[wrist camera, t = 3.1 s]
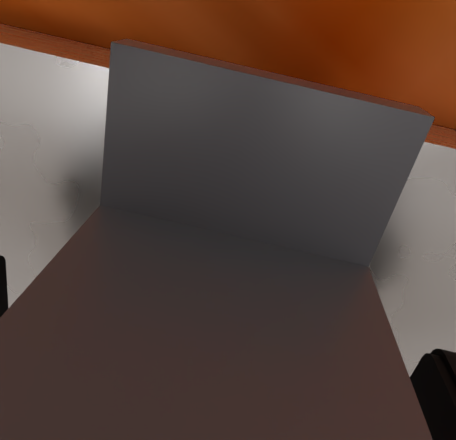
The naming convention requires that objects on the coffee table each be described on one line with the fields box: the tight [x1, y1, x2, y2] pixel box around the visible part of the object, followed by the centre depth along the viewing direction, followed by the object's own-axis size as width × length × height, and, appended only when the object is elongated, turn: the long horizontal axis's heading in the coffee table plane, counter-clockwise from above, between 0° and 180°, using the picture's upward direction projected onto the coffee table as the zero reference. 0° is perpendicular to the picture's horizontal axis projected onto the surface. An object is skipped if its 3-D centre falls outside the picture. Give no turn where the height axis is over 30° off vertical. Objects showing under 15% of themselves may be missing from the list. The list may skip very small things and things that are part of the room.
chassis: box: [0, 24, 456, 377], centre depth 16 cm, size 24×16×2 cm, turn 168°
